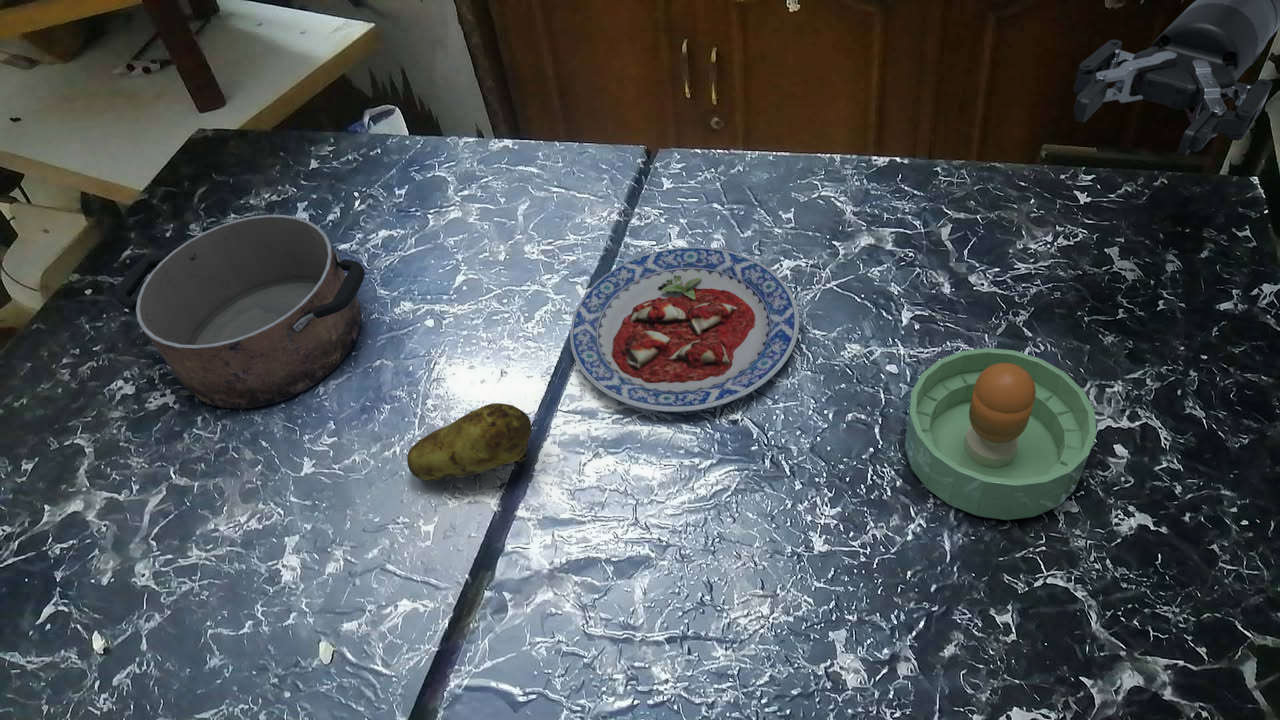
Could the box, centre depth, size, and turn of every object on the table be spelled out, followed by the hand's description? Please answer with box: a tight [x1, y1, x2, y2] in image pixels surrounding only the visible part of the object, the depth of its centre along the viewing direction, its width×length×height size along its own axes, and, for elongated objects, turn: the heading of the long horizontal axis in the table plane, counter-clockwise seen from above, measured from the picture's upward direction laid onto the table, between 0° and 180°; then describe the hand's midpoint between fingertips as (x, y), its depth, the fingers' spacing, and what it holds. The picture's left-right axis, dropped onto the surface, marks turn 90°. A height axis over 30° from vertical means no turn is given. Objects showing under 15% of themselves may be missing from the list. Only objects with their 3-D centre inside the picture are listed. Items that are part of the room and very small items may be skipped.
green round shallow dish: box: [904, 347, 1098, 521], centre depth 88 cm, size 16×16×6 cm
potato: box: [406, 402, 532, 482], centre depth 94 cm, size 8×13×8 cm, turn 75°
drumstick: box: [964, 363, 1036, 468], centre depth 86 cm, size 5×5×11 cm
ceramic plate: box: [569, 246, 800, 413], centre depth 105 cm, size 26×26×3 cm
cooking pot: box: [114, 214, 366, 410], centre depth 110 cm, size 30×22×11 cm
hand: (1131, 128), depth 77 cm, fingers open, 8 cm apart
